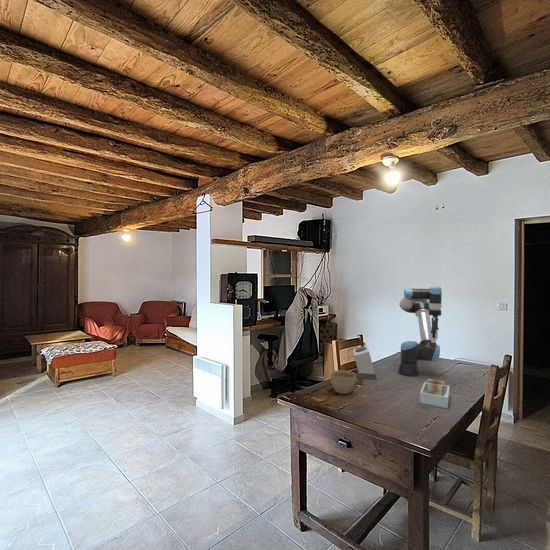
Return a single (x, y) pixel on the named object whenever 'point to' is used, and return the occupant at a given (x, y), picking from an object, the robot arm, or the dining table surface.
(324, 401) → the dining table surface
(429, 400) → the light blue crate
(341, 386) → the planter bowl
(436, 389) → the birch crate
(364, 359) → the alarm clock
